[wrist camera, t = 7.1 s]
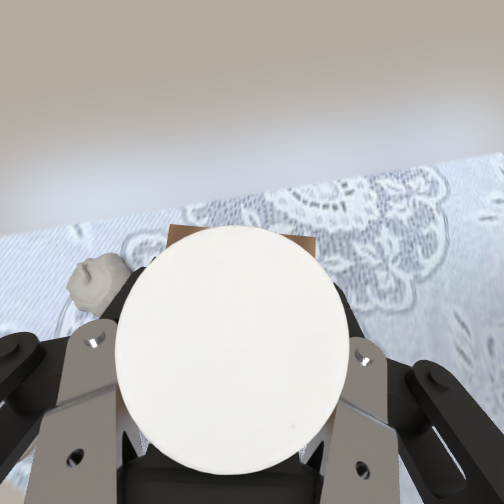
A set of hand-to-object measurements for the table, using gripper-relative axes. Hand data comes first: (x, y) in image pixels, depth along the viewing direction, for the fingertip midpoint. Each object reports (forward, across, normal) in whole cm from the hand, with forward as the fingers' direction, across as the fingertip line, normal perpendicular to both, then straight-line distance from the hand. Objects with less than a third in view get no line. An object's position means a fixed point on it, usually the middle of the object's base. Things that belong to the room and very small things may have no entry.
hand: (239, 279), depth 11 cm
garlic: (+10, +13, +10) cm, 19 cm away
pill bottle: (+2, 0, +5) cm, 5 cm away
